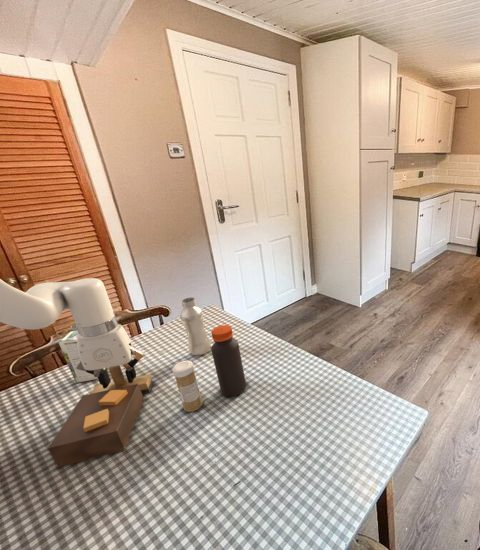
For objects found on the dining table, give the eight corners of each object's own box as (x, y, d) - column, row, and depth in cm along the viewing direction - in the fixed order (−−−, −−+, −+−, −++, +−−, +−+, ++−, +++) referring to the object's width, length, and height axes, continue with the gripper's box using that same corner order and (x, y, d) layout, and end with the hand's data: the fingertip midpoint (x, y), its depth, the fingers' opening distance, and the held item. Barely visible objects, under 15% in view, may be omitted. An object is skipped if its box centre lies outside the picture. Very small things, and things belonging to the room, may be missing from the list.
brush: (93, 405, 82) (80, 377, 78) (99, 395, 85) (87, 367, 82) (149, 392, 86) (140, 365, 83) (153, 383, 90) (144, 357, 86)
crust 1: (85, 432, 67) (83, 428, 66) (87, 420, 70) (85, 416, 69) (108, 423, 69) (106, 419, 69) (109, 412, 72) (107, 408, 72)
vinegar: (215, 395, 85) (201, 334, 78) (231, 379, 91) (219, 321, 84) (236, 399, 84) (224, 338, 76) (251, 383, 90) (240, 324, 82)
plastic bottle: (216, 347, 106) (204, 296, 98) (201, 359, 100) (188, 306, 92) (200, 345, 108) (188, 294, 100) (185, 356, 101) (171, 303, 94)
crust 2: (99, 405, 74) (98, 401, 74) (112, 393, 78) (110, 389, 77) (116, 405, 74) (114, 401, 74) (127, 393, 78) (126, 389, 77)
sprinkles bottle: (186, 401, 83) (175, 361, 78) (205, 398, 84) (194, 358, 79) (181, 414, 79) (169, 372, 74) (200, 411, 80) (189, 369, 75)
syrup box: (85, 371, 95) (68, 331, 89) (107, 367, 96) (92, 328, 91) (75, 383, 90) (56, 342, 84) (99, 379, 91) (82, 338, 86)
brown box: (52, 469, 65) (41, 449, 63) (86, 414, 79) (77, 396, 77) (124, 450, 69) (116, 431, 67) (144, 400, 83) (138, 383, 81)
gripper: (47, 340, 71) (75, 400, 78) (133, 327, 77) (152, 383, 84) (63, 325, 78) (88, 381, 85) (142, 313, 83) (158, 367, 90)
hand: (119, 381), depth 84 cm, fingers open, 5 cm apart
